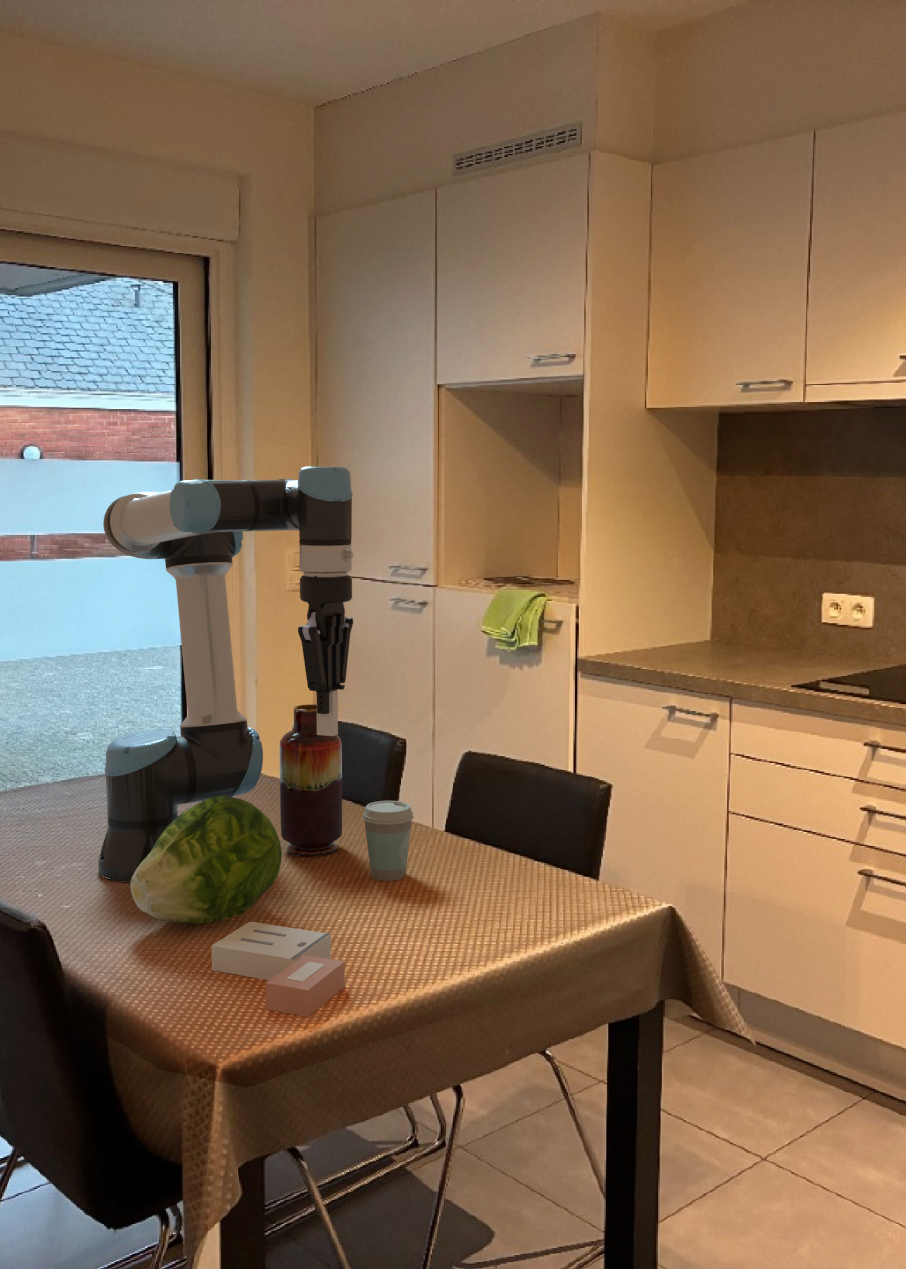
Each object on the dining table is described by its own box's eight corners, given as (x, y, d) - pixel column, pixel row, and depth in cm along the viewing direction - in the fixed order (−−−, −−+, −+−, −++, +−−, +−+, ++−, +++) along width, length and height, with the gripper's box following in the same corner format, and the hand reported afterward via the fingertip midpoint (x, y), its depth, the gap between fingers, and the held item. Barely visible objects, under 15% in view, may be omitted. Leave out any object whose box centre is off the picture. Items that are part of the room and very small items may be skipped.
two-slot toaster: (211, 970, 171) (211, 944, 170) (250, 944, 180) (250, 920, 179) (295, 985, 166) (295, 959, 165) (330, 958, 175) (330, 933, 174)
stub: (266, 1009, 158) (265, 982, 158) (304, 979, 167) (304, 954, 167) (308, 1017, 156) (307, 989, 155) (344, 986, 165) (344, 960, 165)
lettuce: (110, 916, 192) (98, 813, 185) (240, 861, 207) (233, 764, 200) (172, 974, 179) (161, 866, 172) (306, 911, 194) (301, 809, 187)
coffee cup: (407, 885, 206) (406, 814, 204) (357, 881, 208) (356, 811, 206) (418, 869, 214) (418, 801, 213) (370, 866, 216) (370, 798, 214)
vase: (303, 862, 218) (301, 715, 214) (269, 848, 226) (266, 706, 223) (354, 850, 225) (353, 707, 222) (319, 837, 233) (317, 699, 230)
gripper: (327, 578, 173) (329, 745, 176) (369, 571, 185) (369, 728, 188) (280, 576, 176) (282, 741, 179) (324, 570, 188) (325, 724, 191)
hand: (327, 734), depth 183 cm, fingers closed
